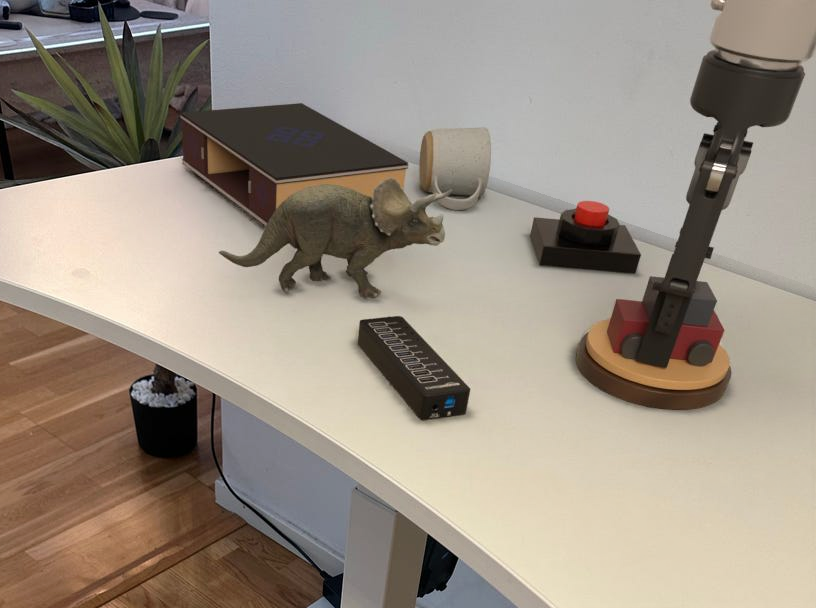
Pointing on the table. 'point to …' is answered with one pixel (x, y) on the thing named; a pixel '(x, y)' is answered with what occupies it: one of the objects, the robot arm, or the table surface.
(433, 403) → the multiport hub
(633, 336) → the toy car
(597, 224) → the button
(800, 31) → the robot arm
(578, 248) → the control box
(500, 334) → the table surface
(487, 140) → the ceramic mug
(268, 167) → the miniature wooden cabinet
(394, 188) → the toy dinosaur
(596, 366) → the turntable base
